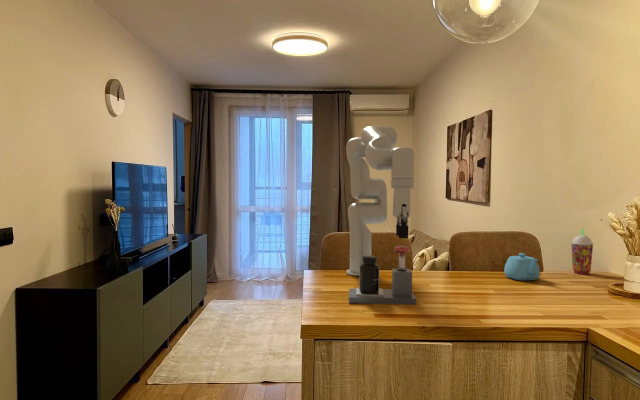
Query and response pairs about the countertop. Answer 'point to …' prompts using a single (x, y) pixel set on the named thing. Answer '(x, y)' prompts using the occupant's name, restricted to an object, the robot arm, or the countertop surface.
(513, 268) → the teapot
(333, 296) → the countertop surface
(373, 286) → the supplement bottle
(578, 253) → the smoothie
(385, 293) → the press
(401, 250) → the plunger
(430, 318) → the countertop surface
